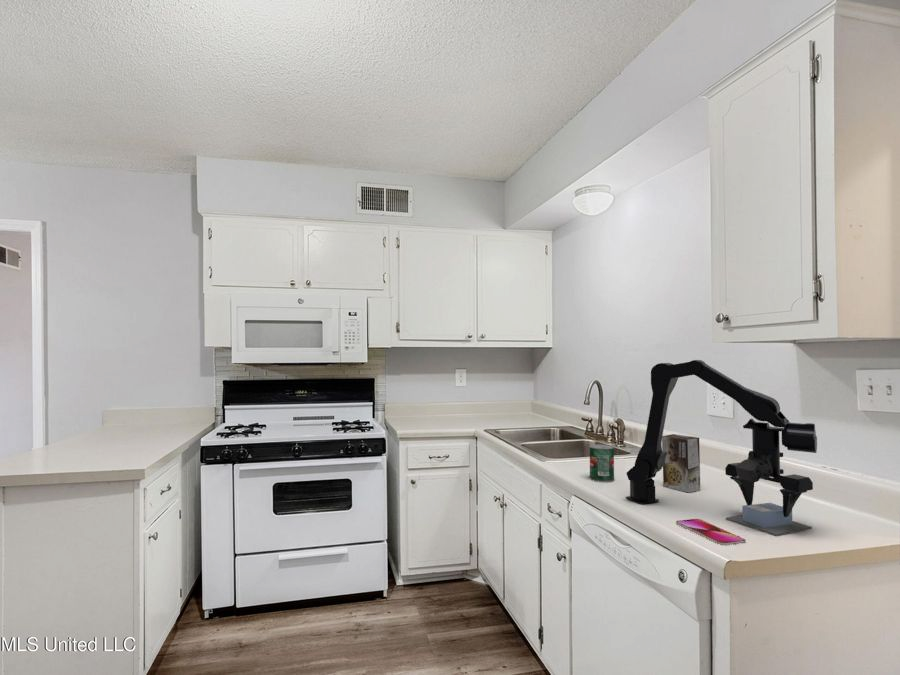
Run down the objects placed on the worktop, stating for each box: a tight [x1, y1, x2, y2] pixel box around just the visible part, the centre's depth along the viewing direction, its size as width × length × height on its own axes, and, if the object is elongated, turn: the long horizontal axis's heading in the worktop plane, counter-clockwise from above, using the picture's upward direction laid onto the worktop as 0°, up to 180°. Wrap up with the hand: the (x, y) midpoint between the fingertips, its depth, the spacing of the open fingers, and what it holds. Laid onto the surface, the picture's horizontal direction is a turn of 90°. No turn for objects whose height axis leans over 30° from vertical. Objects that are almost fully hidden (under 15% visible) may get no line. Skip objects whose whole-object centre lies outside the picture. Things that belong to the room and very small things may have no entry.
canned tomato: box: [589, 443, 615, 483], centre depth 169 cm, size 8×8×11 cm
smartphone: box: [675, 518, 747, 546], centre depth 119 cm, size 7×1×15 cm
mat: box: [725, 513, 813, 537], centre depth 125 cm, size 13×13×1 cm
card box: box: [741, 502, 793, 528], centre depth 125 cm, size 9×6×4 cm, turn 107°
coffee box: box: [661, 433, 701, 493], centre depth 158 cm, size 9×6×16 cm
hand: (767, 511), depth 125 cm, fingers open, 9 cm apart
